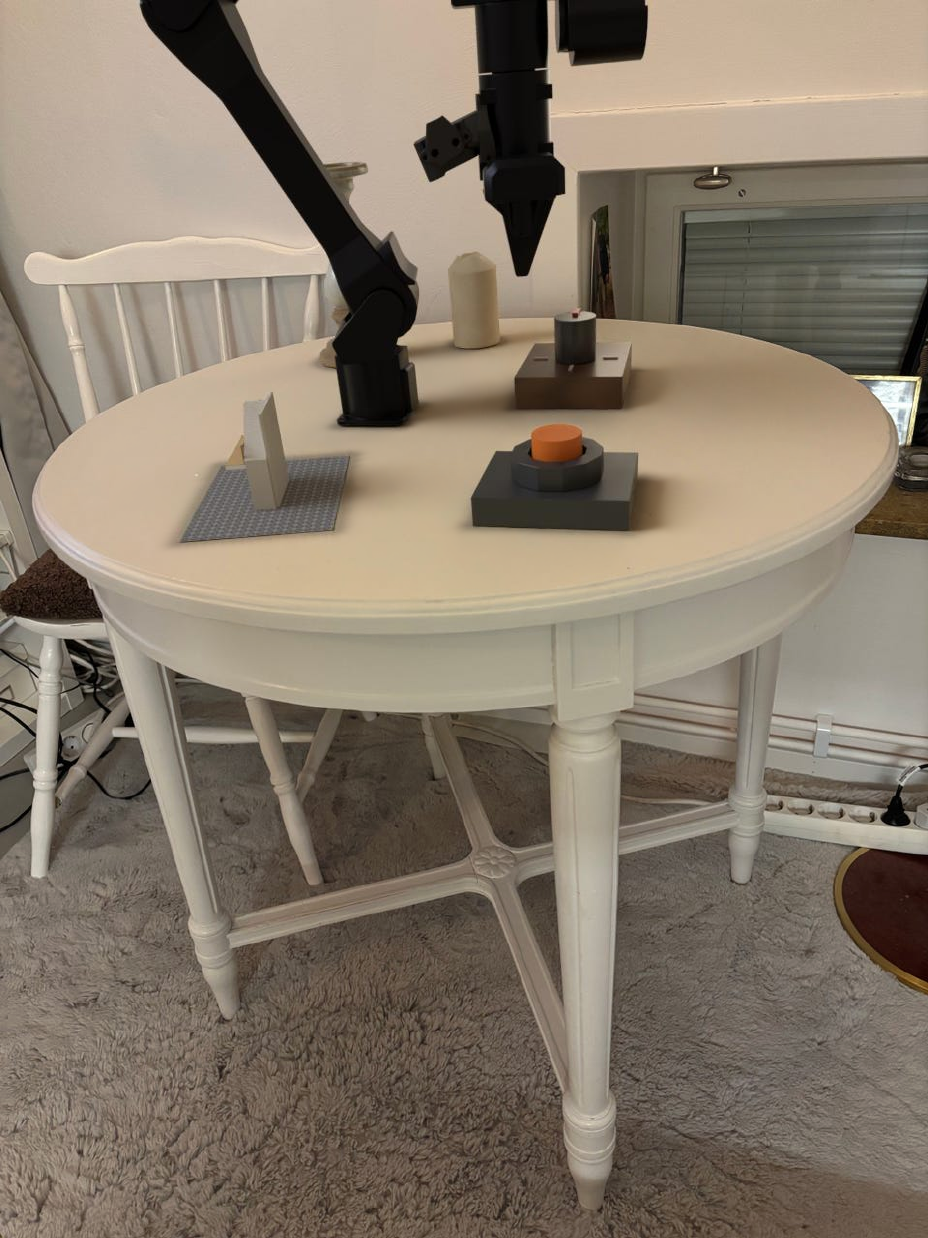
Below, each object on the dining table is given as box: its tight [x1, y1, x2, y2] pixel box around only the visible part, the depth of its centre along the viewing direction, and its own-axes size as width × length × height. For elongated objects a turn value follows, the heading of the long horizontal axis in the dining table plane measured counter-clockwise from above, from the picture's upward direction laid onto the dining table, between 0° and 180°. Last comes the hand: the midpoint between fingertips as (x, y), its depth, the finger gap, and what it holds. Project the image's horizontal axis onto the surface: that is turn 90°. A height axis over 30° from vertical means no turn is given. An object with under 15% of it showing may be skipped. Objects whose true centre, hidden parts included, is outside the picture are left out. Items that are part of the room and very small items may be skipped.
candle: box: [447, 251, 501, 349], centre depth 105 cm, size 6×6×10 cm
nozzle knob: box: [553, 307, 597, 364], centre depth 87 cm, size 4×4×4 cm
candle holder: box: [319, 161, 369, 369], centre depth 100 cm, size 9×9×20 cm
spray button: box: [530, 423, 583, 462], centre depth 65 cm, size 4×4×2 cm
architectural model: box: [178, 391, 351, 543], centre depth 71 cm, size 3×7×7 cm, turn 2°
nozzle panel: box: [513, 341, 633, 410], centre depth 89 cm, size 10×12×3 cm
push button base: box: [470, 436, 639, 531], centre depth 66 cm, size 11×9×4 cm
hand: (521, 275), depth 81 cm, fingers closed
